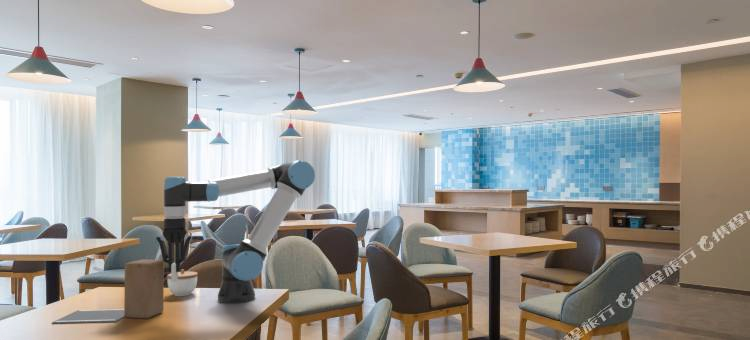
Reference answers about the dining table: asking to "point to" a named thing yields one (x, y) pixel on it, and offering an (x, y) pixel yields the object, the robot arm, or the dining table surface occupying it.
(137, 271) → the wooden block
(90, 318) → the mat
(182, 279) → the lidded bowl
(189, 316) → the dining table surface
